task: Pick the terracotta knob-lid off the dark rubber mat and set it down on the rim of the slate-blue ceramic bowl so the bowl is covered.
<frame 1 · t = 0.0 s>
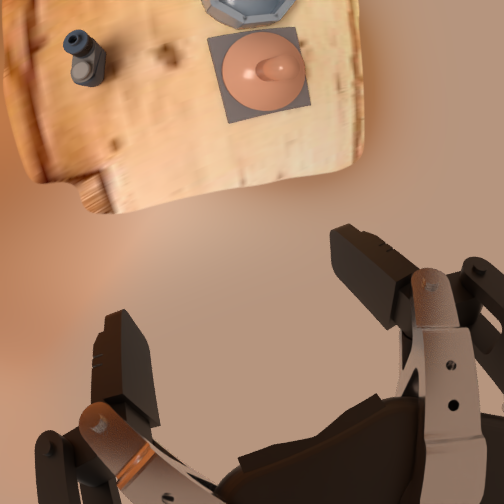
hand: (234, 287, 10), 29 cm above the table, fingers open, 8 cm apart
lid: (263, 71, 32), point 1 cm above the table, touching mat
vaping device: (96, 67, 25), on the table
mat: (261, 71, 32), on the table
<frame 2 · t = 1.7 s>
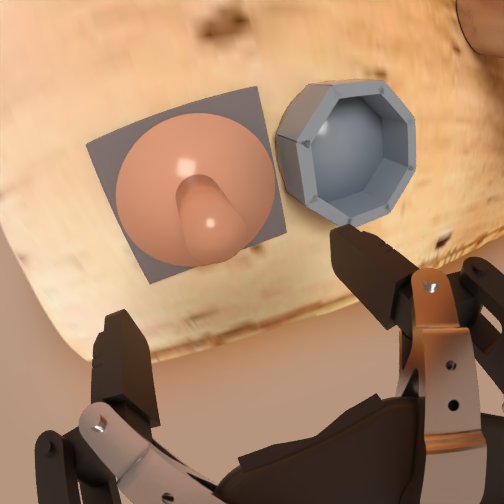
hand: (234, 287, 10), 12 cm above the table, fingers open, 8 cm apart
bowl: (336, 145, 22), on the table
lid: (195, 190, 20), point 1 cm above the table, touching mat
mat: (194, 188, 20), on the table
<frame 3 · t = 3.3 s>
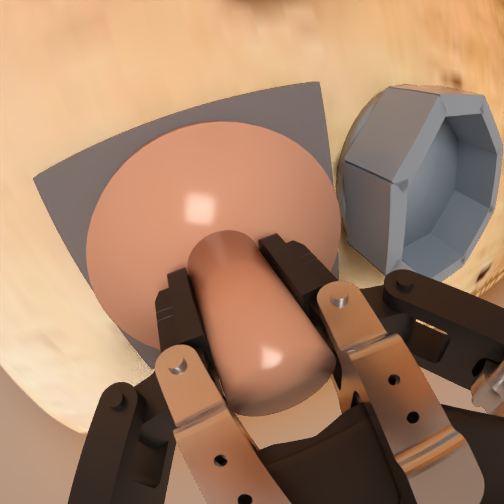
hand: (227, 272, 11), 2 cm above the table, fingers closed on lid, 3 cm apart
bowl: (408, 174, 15), on the table
lid: (217, 249, 13), point 1 cm above the table, touching gripper, mat
mat: (214, 243, 13), on the table
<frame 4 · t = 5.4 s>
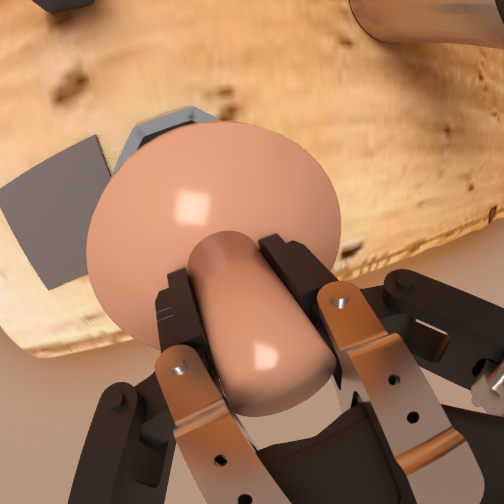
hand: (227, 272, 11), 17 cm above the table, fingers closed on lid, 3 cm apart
bowl: (179, 170, 25), on the table
lid: (217, 249, 13), point 15 cm above the table, touching gripper
mat: (65, 218, 23), on the table
when the fingers open (7 cm above the table, at t = 7.4 s): lid drops 1 cm, resting on bowl.
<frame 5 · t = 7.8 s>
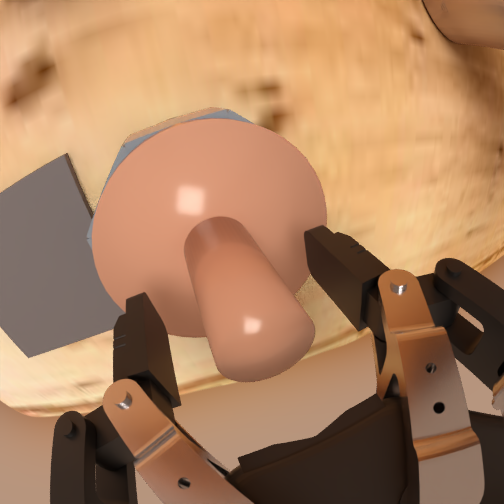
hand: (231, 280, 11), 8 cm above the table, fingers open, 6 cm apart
bowl: (197, 206, 17), on the table
lid: (211, 235, 14), point 4 cm above the table, touching bowl
mat: (35, 275, 15), on the table
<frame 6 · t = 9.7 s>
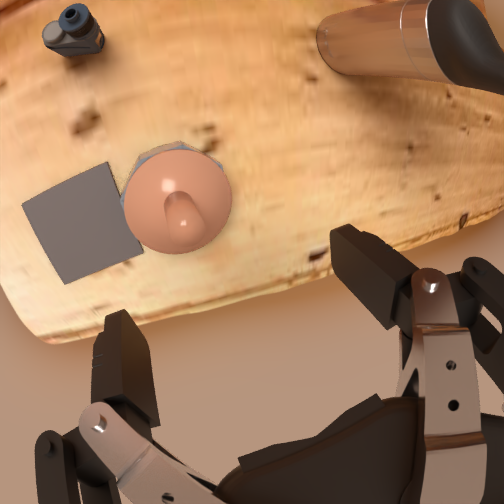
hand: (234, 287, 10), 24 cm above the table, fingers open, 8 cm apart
bowl: (172, 190, 32), on the table
lid: (177, 201, 29), point 4 cm above the table, touching bowl
vaping device: (84, 45, 20), on the table
mat: (81, 227, 30), on the table
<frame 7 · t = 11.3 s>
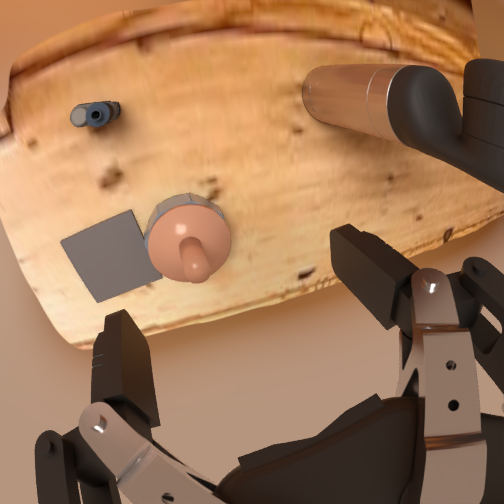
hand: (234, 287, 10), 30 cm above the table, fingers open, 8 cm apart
bowl: (184, 230, 41), on the table
lid: (188, 242, 38), point 4 cm above the table, touching bowl
vaping device: (103, 111, 29), on the table
mat: (111, 259, 39), on the table
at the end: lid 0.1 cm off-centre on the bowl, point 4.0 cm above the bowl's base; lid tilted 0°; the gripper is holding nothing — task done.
